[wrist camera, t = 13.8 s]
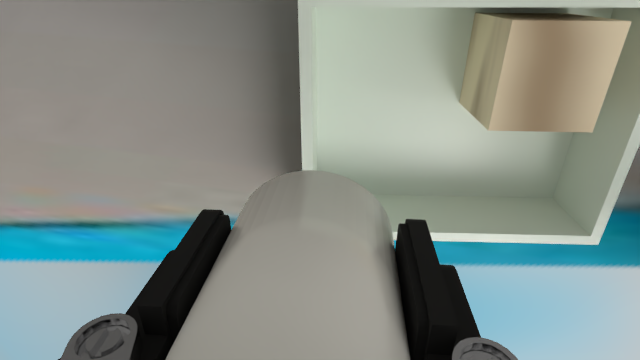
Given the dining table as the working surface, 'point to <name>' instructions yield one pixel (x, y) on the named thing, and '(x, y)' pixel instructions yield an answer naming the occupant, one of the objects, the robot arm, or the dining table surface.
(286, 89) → the dining table surface
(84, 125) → the dining table surface
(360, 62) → the tote
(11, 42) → the dining table surface
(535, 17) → the beech cube
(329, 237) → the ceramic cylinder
